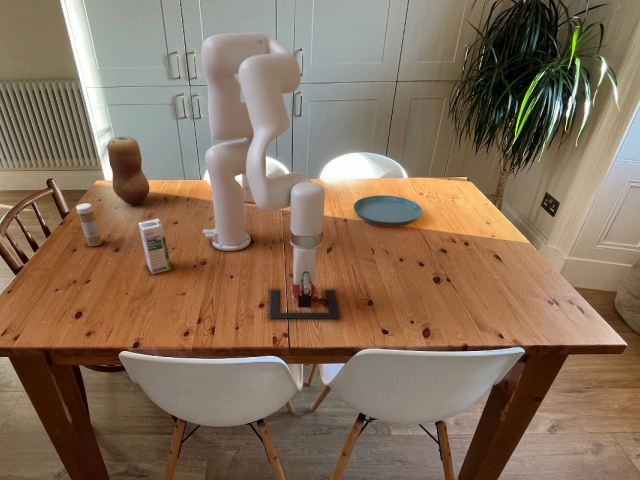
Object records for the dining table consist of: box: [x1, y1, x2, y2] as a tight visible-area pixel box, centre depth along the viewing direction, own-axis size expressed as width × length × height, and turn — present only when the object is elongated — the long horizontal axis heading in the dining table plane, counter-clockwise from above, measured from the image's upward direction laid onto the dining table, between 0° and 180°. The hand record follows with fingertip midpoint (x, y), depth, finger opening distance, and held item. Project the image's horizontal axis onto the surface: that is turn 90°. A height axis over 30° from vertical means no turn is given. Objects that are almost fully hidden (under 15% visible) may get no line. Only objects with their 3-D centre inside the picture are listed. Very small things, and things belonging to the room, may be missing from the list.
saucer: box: [353, 194, 423, 228], centre depth 149 cm, size 24×24×3 cm
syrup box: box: [138, 218, 172, 275], centre depth 117 cm, size 6×6×14 cm
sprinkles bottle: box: [75, 202, 103, 248], centre depth 130 cm, size 5×5×14 cm
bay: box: [269, 289, 340, 320], centre depth 106 cm, size 17×12×1 cm
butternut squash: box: [106, 136, 150, 207], centre depth 155 cm, size 14×13×25 cm
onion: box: [291, 280, 316, 301], centre depth 105 cm, size 6×6×8 cm
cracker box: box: [241, 150, 267, 204], centre depth 160 cm, size 14×6×21 cm, turn 164°
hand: (303, 295), depth 106 cm, fingers open, 9 cm apart
